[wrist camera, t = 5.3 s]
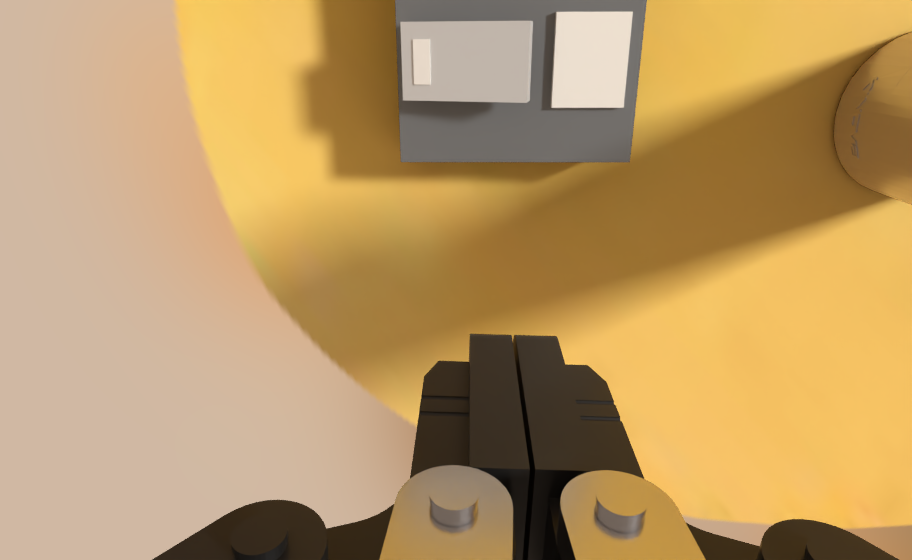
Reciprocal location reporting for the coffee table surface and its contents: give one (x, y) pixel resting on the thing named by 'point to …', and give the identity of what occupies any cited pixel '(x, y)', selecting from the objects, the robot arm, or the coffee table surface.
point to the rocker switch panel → (536, 86)
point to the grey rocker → (466, 61)
